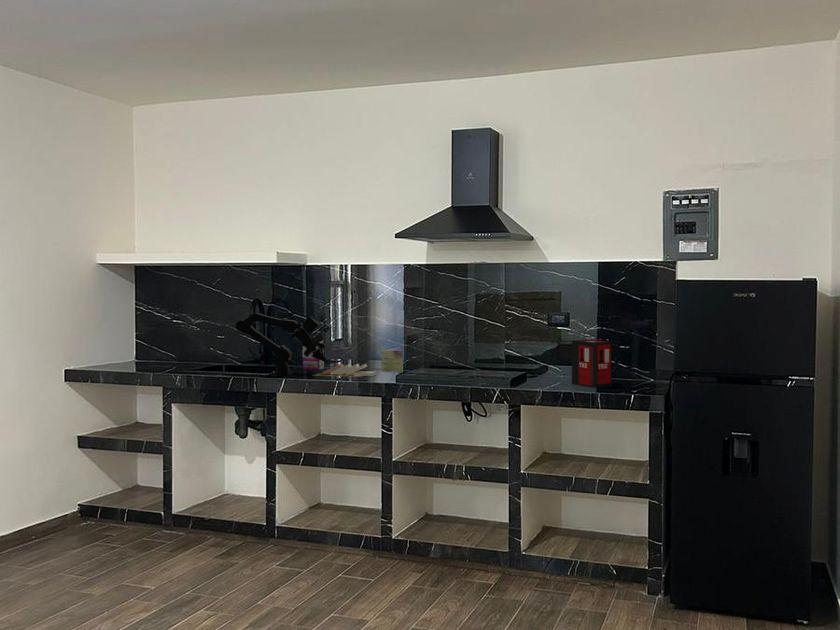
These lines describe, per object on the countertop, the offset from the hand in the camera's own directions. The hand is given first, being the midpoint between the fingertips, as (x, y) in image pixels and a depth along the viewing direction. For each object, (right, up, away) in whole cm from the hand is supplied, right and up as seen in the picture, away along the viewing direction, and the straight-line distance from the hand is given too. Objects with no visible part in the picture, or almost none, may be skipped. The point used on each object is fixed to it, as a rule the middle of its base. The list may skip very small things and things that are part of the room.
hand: (326, 361), depth 413 cm
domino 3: (+7, -6, -1) cm, 9 cm away
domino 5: (+15, -6, -3) cm, 16 cm away
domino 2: (+3, -6, 0) cm, 7 cm away
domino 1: (-1, -6, +1) cm, 6 cm away
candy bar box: (-11, -6, +32) cm, 34 cm away
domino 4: (+11, -6, -2) cm, 12 cm away
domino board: (+7, -8, -1) cm, 10 cm away
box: (+32, -7, +14) cm, 36 cm away
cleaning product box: (+125, -9, -41) cm, 131 cm away
